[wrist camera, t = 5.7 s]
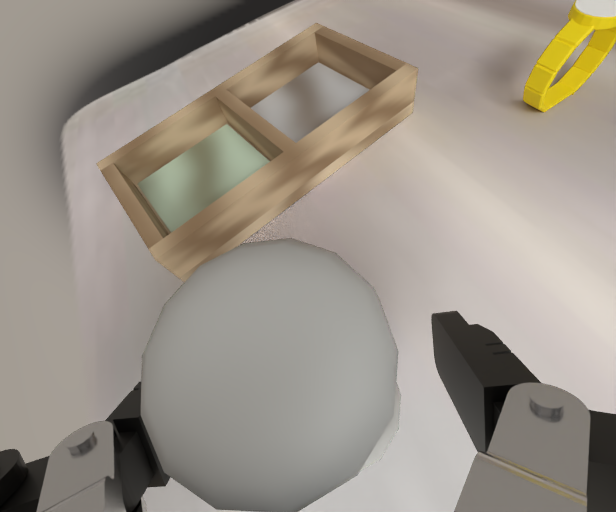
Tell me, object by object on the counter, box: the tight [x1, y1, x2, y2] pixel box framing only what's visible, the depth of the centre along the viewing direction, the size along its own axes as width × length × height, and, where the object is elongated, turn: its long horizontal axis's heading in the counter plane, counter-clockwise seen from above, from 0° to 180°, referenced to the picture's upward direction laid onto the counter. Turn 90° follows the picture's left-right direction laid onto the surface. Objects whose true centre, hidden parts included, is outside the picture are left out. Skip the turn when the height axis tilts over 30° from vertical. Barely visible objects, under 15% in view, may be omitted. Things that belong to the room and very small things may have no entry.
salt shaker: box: [141, 238, 401, 512], centre depth 10 cm, size 6×6×13 cm
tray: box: [97, 23, 418, 282], centre depth 24 cm, size 21×11×4 cm, turn 129°
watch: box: [523, 0, 616, 112], centre depth 20 cm, size 6×3×6 cm, turn 122°
